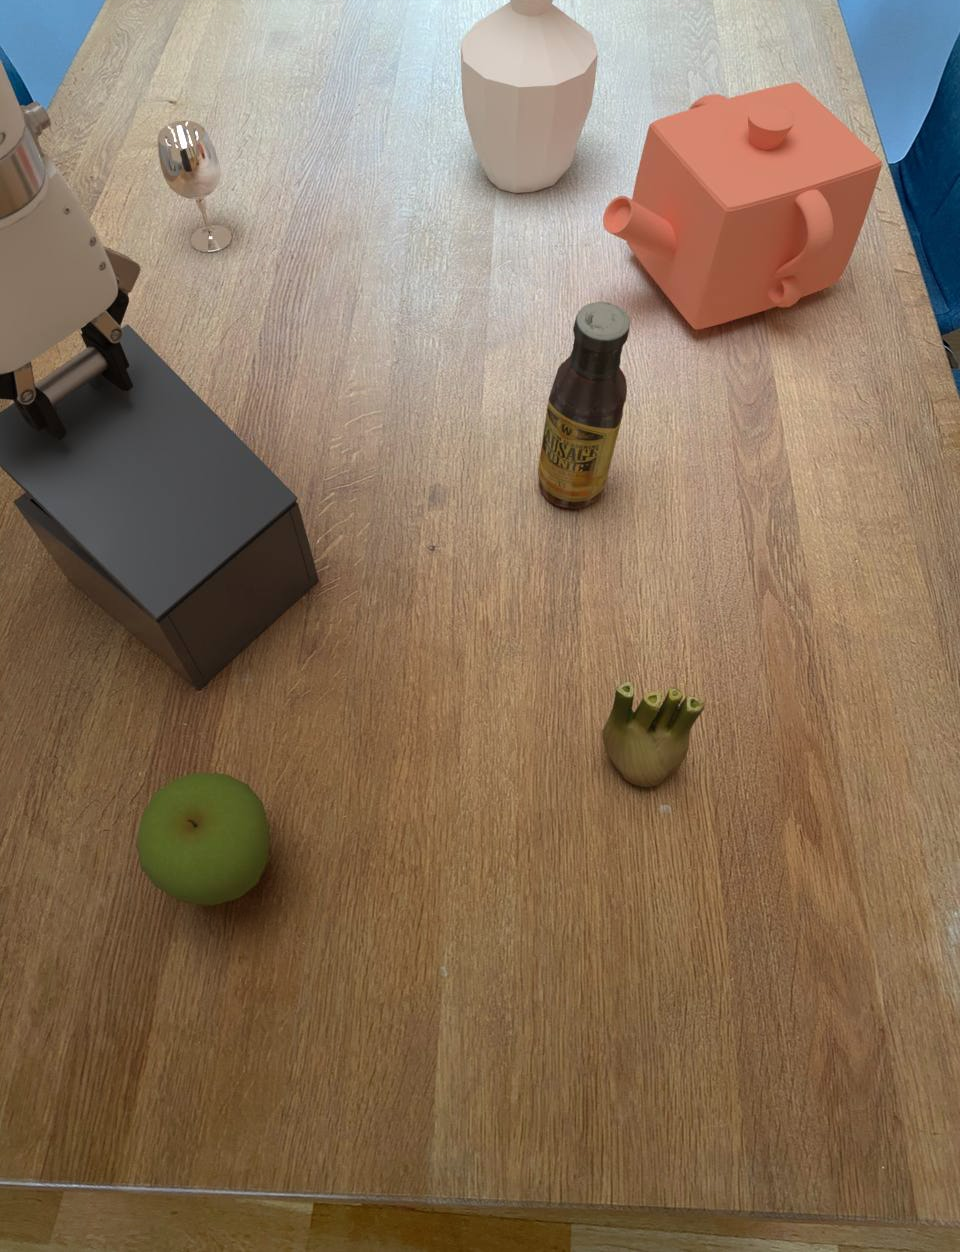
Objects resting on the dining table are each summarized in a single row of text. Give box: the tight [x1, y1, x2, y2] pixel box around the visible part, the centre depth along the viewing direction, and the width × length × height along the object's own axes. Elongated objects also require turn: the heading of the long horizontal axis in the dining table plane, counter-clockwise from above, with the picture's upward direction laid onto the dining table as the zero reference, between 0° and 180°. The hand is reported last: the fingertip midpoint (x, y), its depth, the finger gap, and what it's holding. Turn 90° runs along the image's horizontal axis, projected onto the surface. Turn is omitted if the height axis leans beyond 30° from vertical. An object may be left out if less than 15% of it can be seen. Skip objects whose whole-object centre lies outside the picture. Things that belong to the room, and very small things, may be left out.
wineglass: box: [157, 120, 233, 253], centre depth 98 cm, size 6×6×12 cm
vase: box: [460, 0, 599, 194], centre depth 98 cm, size 14×14×25 cm
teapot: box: [602, 81, 883, 330], centre depth 92 cm, size 25×23×18 cm
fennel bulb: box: [601, 681, 705, 788], centre depth 68 cm, size 6×5×12 cm
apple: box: [136, 772, 271, 906], centre depth 63 cm, size 9×8×12 cm
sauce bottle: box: [537, 301, 631, 510], centre depth 77 cm, size 6×6×20 cm
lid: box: [0, 324, 298, 621], centre depth 66 cm, size 18×14×5 cm
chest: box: [13, 491, 320, 692], centre depth 76 cm, size 17×14×11 cm
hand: (82, 401), depth 66 cm, fingers closed on lid, 5 cm apart
